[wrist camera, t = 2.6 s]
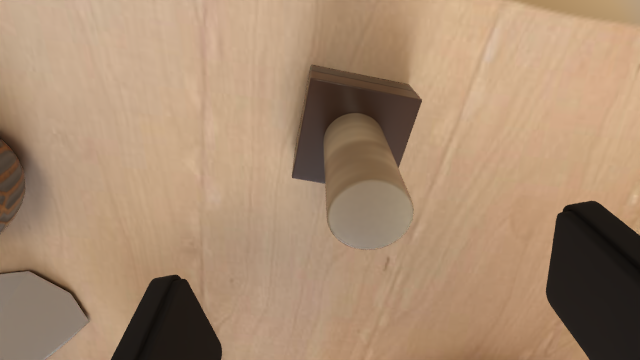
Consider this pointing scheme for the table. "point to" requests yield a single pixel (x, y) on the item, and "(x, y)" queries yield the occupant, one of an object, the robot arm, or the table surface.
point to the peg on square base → (358, 153)
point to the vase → (10, 185)
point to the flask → (35, 317)
